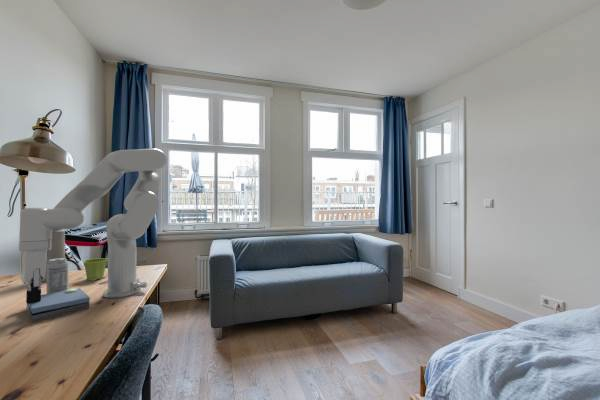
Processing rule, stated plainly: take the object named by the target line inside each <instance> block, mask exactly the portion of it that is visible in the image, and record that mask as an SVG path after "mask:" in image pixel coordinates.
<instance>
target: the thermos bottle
mask: <svg viewBox="0 0 600 400" xmlns="http://www.w3.org/2000/svg"><path fill="white" fill-rule="evenodd" d="M55 258H66V229H52V247H51V249H50V250H47V259H46V276H45V280H44V281H43V282H47V264H48V262H49V260H50V259H55Z"/></svg>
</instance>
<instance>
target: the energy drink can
mask: <svg viewBox="0 0 600 400" xmlns="http://www.w3.org/2000/svg"><path fill="white" fill-rule="evenodd" d="M68 289H69V261H68V260H67V257H65V258H55V259H50V260H49V262H48V264H47V281H46V294H49V293H55V292H61V291H65V290H68Z"/></svg>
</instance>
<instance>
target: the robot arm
mask: <svg viewBox="0 0 600 400" xmlns="http://www.w3.org/2000/svg"><path fill="white" fill-rule="evenodd" d="M167 162H168V158H167V155H166V153H165V152H164V151H162V150H161V149H160V148H159V149H158V148H141V149H120V150H115V151H112V152H110V153H108V154H107V155H105V157H104V158H102V159H101V160H100V162H98V164H97V165H96V166H95V167H94V168H93V169H92V170H91V171H90V172H89V173H88V175H86V176H85V177H84V178H83V179H82V180H81V181H80V182H79V183H78V184H76V186H75V187H73V188H72V189H71V190H70V191H69V192H68V193H67V194H66V195H65V196H64V197H62V199H60V201H59V202H58V203H57V204H56V205H55V206H54V207H53V208H48V207H26V208H23V209H21V211H20V217H19V236H18V237H19V241H18V252H19V253H22V258H21V259H22V260H21V271H20V280H21V282H22V284H24V285H27V288H26V289H27V290H26V294H25V297H26V300H25V302H26V305H27V304H30V303H35V302H40V301H41V295H42V289H41V288H42V287H41V286H42V282H45V281H44V280H45V276H46V259H47V250H50V249H51V247H52V229H63V230H73V229H76V228H79V227H80V226H81V225H82V224H83V223H84V220H85V216H84V213H83V211H84V210H85V209H86V208H87V207H88V206H89V205H90V204H91V203H93V202H94V201H96V200H98V199H99V198H101V197H104V196H105V195H107V194H108V193H109V192H110V190H111V189H112V188H113V187H114V185H116V183H117V182H118V181H119V180H120V179H121V177H122V176H123V175H124V174H126V173H131V172H132V173H134V172H138V177H137V179H136V182H135V183H134V185H132V188H131V190H130V191H129V192H128V194H127V195H126V197H125V199H124V201H123V205H124V209H125V210H126V212H125V213H119V214H115V215H113V216H112V217H110V218H109V219H108V221H107V223H106V226H105V231H106V232H105V233H106V239H107V259H108V260H107V289H105V290H104V291H103V292H102V296H103V297H105V298H107V299H116V298H124V297H129V296H132V295H135V294H138V293H139V292H140V291H141V289H144V288H145V289H146V288H147V287H148V282H146V281H140V278H137V239H139V238H141V237H142V236H143V235H145V233H146V232H147V229H148V228H149V226H150V225H151V223H152V222H153V219H154V217H155V216H156V214H157V212H158V210H159V208H160V198H159V197H158V196H157V194H156V193H157V190H158V189H159V187H160V185H161V173H160V169H162V168H164V167H165V166H166V164H167Z"/></svg>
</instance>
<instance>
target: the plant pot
mask: <svg viewBox="0 0 600 400" xmlns="http://www.w3.org/2000/svg"><path fill="white" fill-rule="evenodd" d="M82 263H83V266H84V270H85V275H86V281H87V280H88V281H97V280H102V279H103V278H104V275H105V269H106V264H108V257H106V258H103V257H98V258H90V259H86V260H85V259H84V260H82Z"/></svg>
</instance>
